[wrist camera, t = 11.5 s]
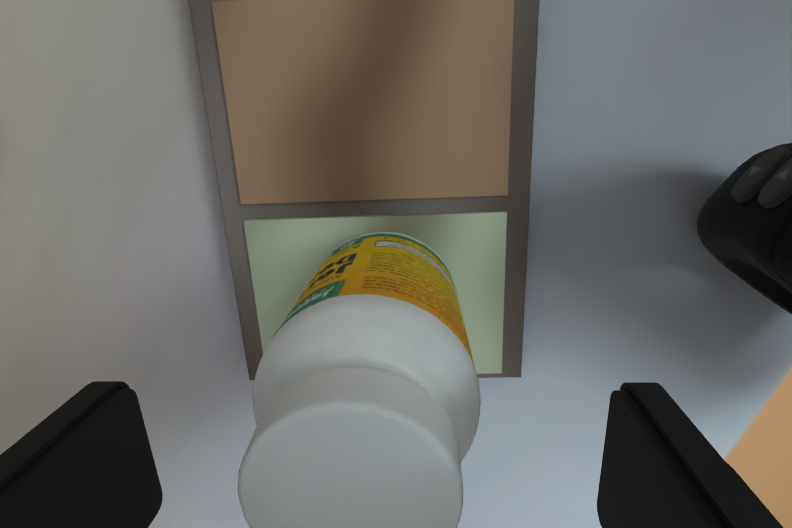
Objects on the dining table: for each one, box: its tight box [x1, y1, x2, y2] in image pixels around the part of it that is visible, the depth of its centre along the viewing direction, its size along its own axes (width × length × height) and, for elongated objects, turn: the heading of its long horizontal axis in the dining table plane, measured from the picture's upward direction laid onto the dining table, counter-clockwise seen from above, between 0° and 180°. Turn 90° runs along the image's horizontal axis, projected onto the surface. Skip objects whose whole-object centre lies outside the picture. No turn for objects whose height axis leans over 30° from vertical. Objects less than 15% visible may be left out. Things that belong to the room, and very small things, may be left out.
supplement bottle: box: [238, 232, 480, 528], centre depth 12 cm, size 5×5×10 cm
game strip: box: [189, 0, 539, 380], centre depth 16 cm, size 11×21×1 cm, turn 2°
